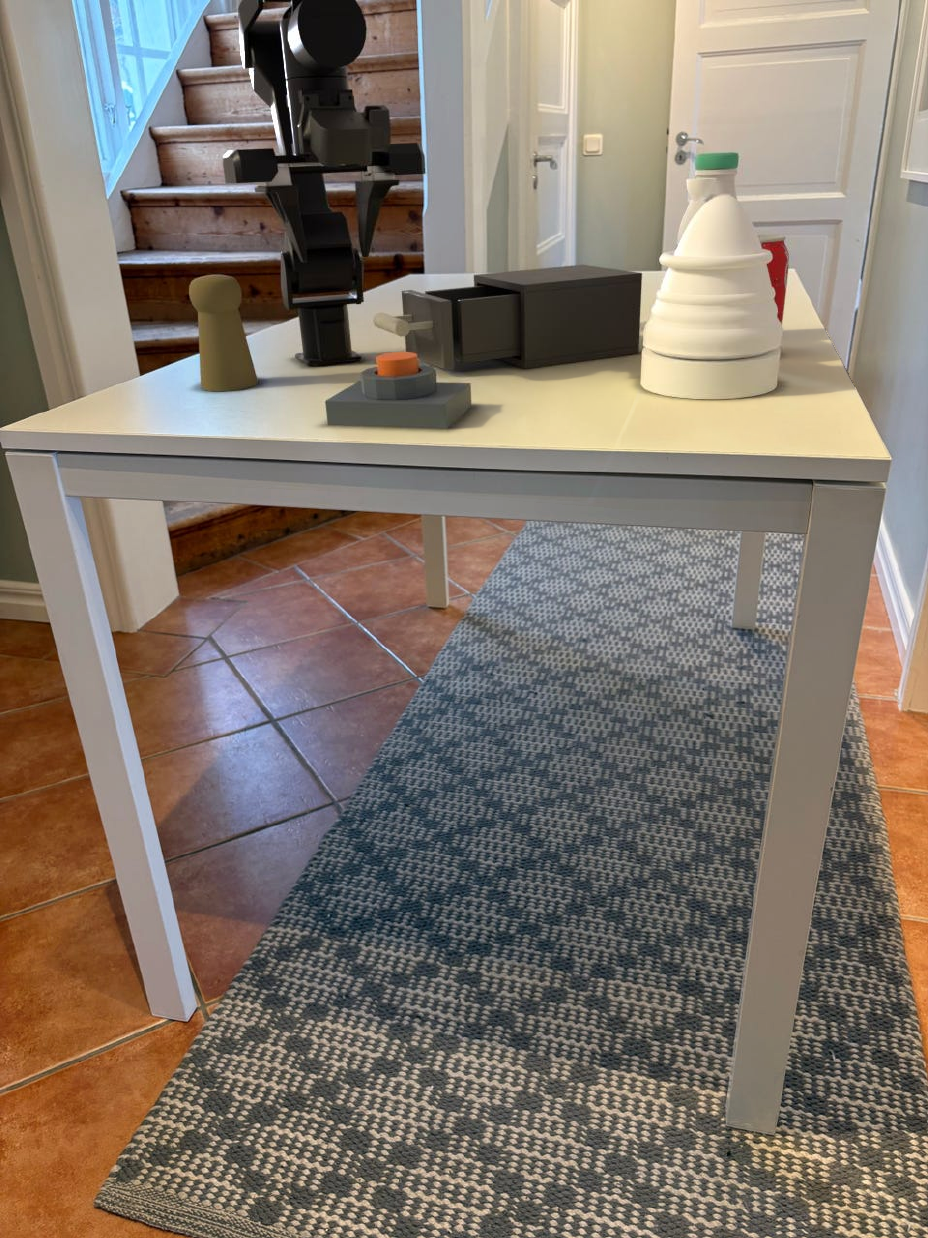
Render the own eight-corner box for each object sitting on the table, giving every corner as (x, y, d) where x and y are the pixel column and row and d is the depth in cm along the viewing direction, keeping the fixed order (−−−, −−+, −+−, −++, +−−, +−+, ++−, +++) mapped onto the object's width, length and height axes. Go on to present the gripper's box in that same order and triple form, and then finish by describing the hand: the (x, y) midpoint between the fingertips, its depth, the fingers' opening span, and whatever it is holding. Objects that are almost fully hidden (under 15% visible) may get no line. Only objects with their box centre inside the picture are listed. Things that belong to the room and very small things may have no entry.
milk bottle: (744, 336, 109) (762, 150, 100) (724, 347, 103) (741, 151, 94) (683, 332, 113) (695, 153, 103) (660, 343, 107) (671, 154, 98)
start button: (372, 379, 78) (370, 359, 77) (386, 371, 81) (384, 351, 81) (411, 380, 77) (409, 359, 77) (424, 371, 80) (422, 351, 80)
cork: (208, 393, 92) (189, 280, 87) (195, 383, 97) (176, 275, 92) (265, 385, 95) (249, 275, 90) (250, 376, 100) (234, 270, 95)
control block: (327, 425, 79) (322, 379, 77) (361, 403, 86) (357, 360, 84) (446, 429, 76) (444, 382, 74) (471, 406, 83) (470, 362, 81)
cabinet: (524, 368, 97) (524, 284, 93) (476, 350, 107) (473, 274, 104) (638, 353, 102) (642, 272, 98) (581, 337, 112) (582, 264, 109)
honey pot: (627, 395, 84) (636, 182, 76) (654, 367, 95) (664, 178, 87) (770, 402, 80) (796, 177, 72) (782, 372, 90) (805, 172, 82)
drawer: (405, 374, 92) (401, 305, 89) (370, 357, 102) (364, 294, 99) (556, 354, 99) (557, 289, 96) (510, 340, 108) (509, 280, 105)
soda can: (781, 361, 95) (796, 238, 90) (713, 361, 96) (723, 240, 91) (775, 348, 101) (788, 233, 96) (710, 348, 103) (719, 235, 97)
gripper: (234, 71, 74) (261, 273, 81) (443, 69, 80) (451, 257, 87) (210, 83, 83) (236, 264, 90) (399, 81, 89) (410, 250, 96)
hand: (335, 259), depth 90 cm, fingers open, 6 cm apart
